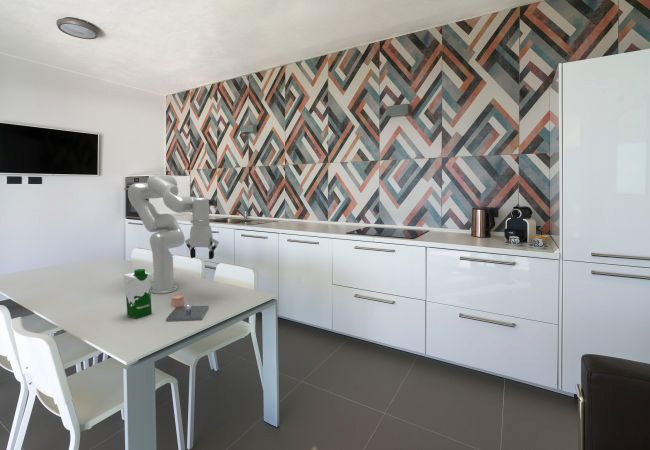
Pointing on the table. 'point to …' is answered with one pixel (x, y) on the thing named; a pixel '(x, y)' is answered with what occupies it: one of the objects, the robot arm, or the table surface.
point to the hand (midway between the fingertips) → (202, 258)
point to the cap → (177, 300)
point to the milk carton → (138, 293)
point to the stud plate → (187, 313)
